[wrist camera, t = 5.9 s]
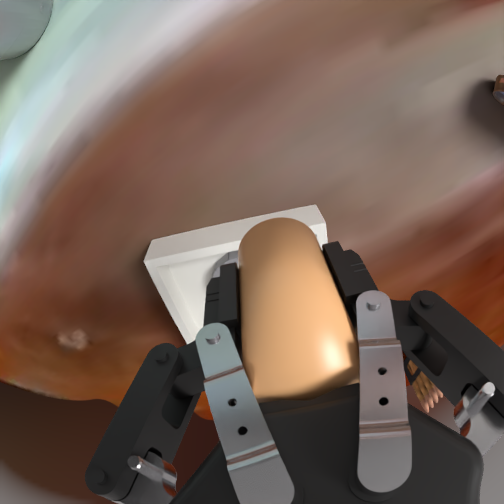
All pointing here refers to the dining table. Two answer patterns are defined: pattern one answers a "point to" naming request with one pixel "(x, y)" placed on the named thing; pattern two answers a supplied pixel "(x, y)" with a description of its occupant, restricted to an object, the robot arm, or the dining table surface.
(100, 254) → the dining table surface
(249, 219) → the housing
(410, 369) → the ammunition clip
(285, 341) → the tan rounded sausage
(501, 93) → the tin
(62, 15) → the dining table surface
